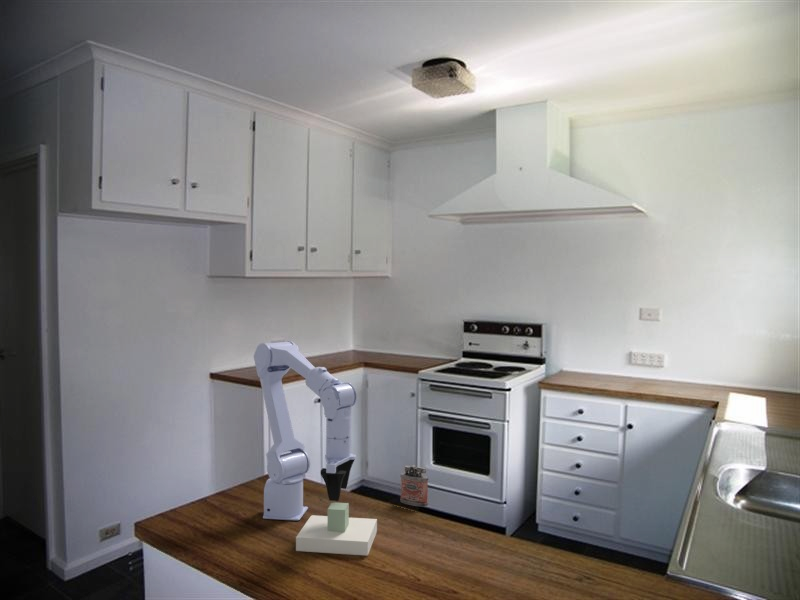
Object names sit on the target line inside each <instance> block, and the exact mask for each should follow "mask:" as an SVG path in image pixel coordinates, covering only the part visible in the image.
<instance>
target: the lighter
mask: <svg viewBox="0 0 800 600" xmlns="http://www.w3.org/2000/svg"><path fill="white" fill-rule="evenodd" d="M426 473H427V469H426V467H420V466H417V465H415V464H412V465H405V466H404V472H400V473H399V474H400V501H399V502H400V503H403V504H405V505H409V506H415V507H422V508H423V507H424V508H425V507H428V506H429V500H428V499H429V497H428V491H429V489H428V485H429V484H428V481H429V476H427V475H424V474H426Z"/></svg>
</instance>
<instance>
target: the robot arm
mask: <svg viewBox="0 0 800 600" xmlns="http://www.w3.org/2000/svg"><path fill="white" fill-rule="evenodd" d="M299 348H300V347H299V346H298V345H297V344H296V343H295V342H293V341H292V340H287V341H280V342H268V343H266V342H262V343H259V344H258V345H257V346H256V348H255V351H254V354H253V360H254V364H255V369H256V370H255V371H256V373H257V377H258V378H259V381H260V387H261V390H262V395H263V401H264V404H265V408H266V413H267V418H268V423H269V428H270V431H271V436H272V440H273V444H272V446H271V447H270V448H269V450H268V451H267V452H266V463H267V464H266V472H267V475H268V477H269V478H268V479H266V482H265V484H264V489H263V516H262V518H263V519H266V520H267V519H268V520H284V521H300V520H301V518H302V517H303V516H304V515H305V513H306V512H307V510H308V509H309V507H308V506H304V479H305V478H306V474H307V473H308V472H309V471H310V468H311V459H310V456H309V454H308V453H307V451H306V449H305V445H304V443H303V442H302V441H300V440H298V439H296V438H295V434H294V430H293V427H292V421H291V417H290V413H289V412H290V411H289V408H288V402H287V399H286V395H285V390H284V386H283V382H282V379H283V377H284V375H286V374H287V373H288V372H289V371H290V369H292V370H293V371H295V372H296V373H297V374H299V375H300V376H302V377H303V378H304V379H305V381H304V382H305V385H306V387H307V388H309V389H310V390H311V391H312V392H313V393H314V394H316V395H317V397H319V398H320V402H321V404H322V407H323V410H324V412H323V414H324V416H325V419H326V423H325V425H326V428H325V430H326V431H325V433H326V439H325V440H326V441H325V442H326V443H325V444H326V446H325V453H326V454H325V457H324V459H325V463H326V464H325V468H324V467H323V468H322V469H321V470H320V476H321V478H322V480H323V481H324V485H325V487H326V490H327V491H326V492H327V496H328V500H329V501H331V502H333V501H334V502H339V501H340V498H341V493H342V492H341V491H342V490H343V489H345V490H346V489H347V488H348V483H349V478H350V475H351V469H352V466H353V464H354V462H355V459H357V455H356V454H354V453H352V407H354V406H355V405H356V402H357V400H358V399H357V397H358V394H357V390H356V388H355V387H354V386H353V385H352V383H351V382H346V381H345V382H343V381H340V380H339V378H337V377H335V376H334V375H332V374H331V373H330V372H329V371H328V369H327V368H326V367H325V366H317V367H315V366H314V365H313V364H312V363H311V362H310V361H309V360H308V359H307V358H306V357H305V356H304V355H303V354H302V353H301V352H300V349H299ZM282 453H283V454H282Z"/></svg>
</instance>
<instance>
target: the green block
mask: <svg viewBox="0 0 800 600" xmlns="http://www.w3.org/2000/svg"><path fill="white" fill-rule="evenodd" d="M349 506H350V503H349V502H336V501H334V502H333V501H331V503H330V505H329V506H328V507H327V516H328V531H334V532H345V531H346V529H347V527H348V525H349V516H350V515H349V514H350V507H349Z"/></svg>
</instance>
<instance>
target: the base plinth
mask: <svg viewBox="0 0 800 600" xmlns="http://www.w3.org/2000/svg"><path fill="white" fill-rule="evenodd" d="M377 533H378V519H377V518H366V517H365V518H364V517H349V525H348V527H347V529H346V531H345V532H334V531H328V515H314V514H312V515H311V516H310V517H309V518H308V520H306V522H305V524H304V525H303V527H302V528H301V529H300V531H299V532H298V534H297V535H296V537H295V552H307V553H310V552H311V553H320V554H321V553H322V554H336V555H337V554H338V555H339V554H340V555H353V556H368V557H369V554H370V552H371V549H372V546H373V542H374V540H375V537H376V535H377Z"/></svg>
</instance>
